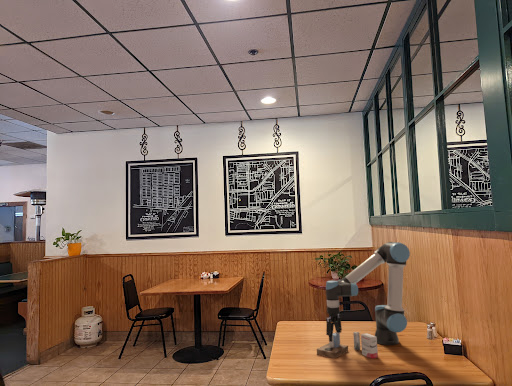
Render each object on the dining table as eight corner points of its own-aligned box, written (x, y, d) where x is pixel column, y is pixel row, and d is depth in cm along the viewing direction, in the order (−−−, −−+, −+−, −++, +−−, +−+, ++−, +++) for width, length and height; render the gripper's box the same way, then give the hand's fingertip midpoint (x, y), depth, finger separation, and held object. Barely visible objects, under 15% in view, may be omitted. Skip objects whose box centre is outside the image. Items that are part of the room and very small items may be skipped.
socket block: (348, 351, 224) (347, 345, 224) (334, 358, 212) (334, 353, 213) (330, 347, 232) (330, 342, 232) (316, 354, 220) (316, 348, 221)
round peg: (361, 349, 227) (360, 332, 228) (358, 350, 224) (357, 333, 225) (355, 348, 229) (355, 331, 230) (353, 349, 226) (352, 332, 227)
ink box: (378, 357, 212) (377, 336, 213) (371, 359, 210) (370, 337, 211) (367, 353, 220) (366, 332, 221) (361, 354, 218) (360, 334, 219)
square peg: (339, 351, 225) (339, 334, 226) (336, 352, 222) (335, 335, 223) (334, 349, 227) (333, 333, 228) (330, 351, 224) (330, 334, 225)
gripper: (335, 303, 237) (337, 339, 235) (319, 308, 222) (320, 348, 220) (346, 304, 232) (348, 342, 230) (329, 310, 217) (331, 350, 215)
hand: (334, 344), depth 225 cm, fingers open, 7 cm apart
